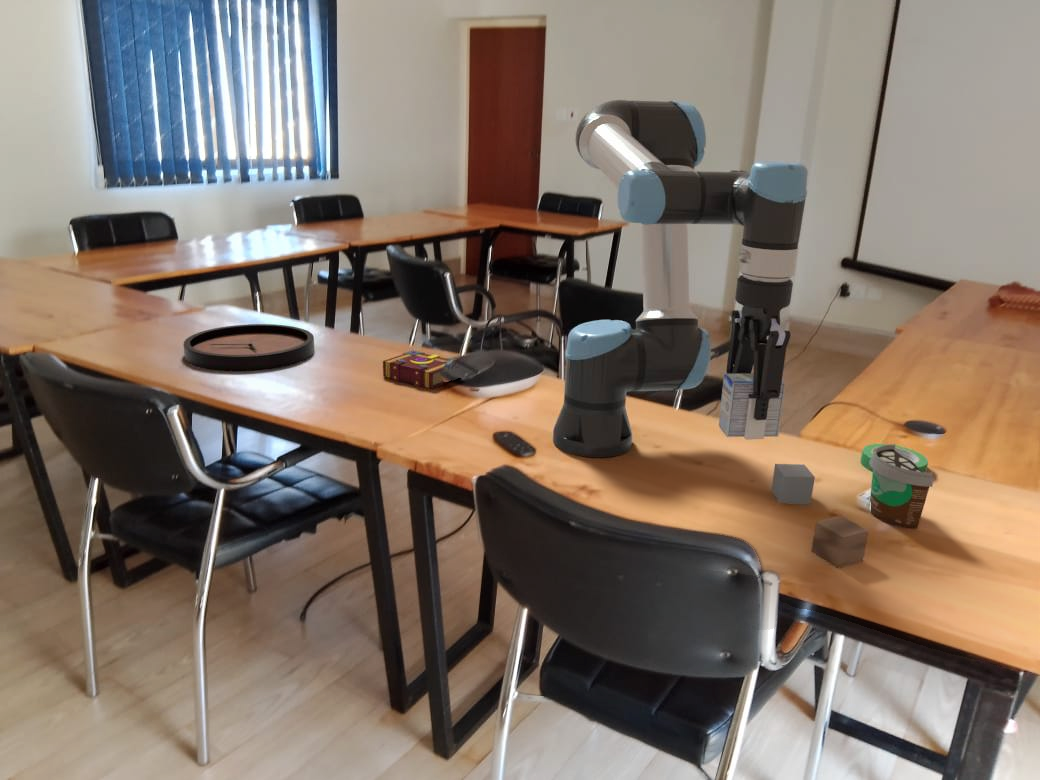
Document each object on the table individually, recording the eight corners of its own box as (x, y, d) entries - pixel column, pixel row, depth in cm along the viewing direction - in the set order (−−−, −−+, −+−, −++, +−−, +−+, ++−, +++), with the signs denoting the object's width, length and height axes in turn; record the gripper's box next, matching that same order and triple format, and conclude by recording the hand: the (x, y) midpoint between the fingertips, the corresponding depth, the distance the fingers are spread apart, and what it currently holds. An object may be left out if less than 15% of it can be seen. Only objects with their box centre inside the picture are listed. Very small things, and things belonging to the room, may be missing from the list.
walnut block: (811, 552, 118) (816, 521, 117) (835, 545, 120) (841, 515, 119) (837, 568, 114) (843, 537, 112) (862, 561, 116) (868, 530, 114)
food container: (847, 497, 136) (857, 442, 132) (883, 497, 136) (893, 442, 133) (884, 533, 124) (895, 474, 121) (922, 533, 124) (935, 474, 121)
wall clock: (338, 333, 212) (257, 363, 185) (339, 348, 213) (258, 380, 186) (244, 318, 223) (154, 345, 196) (245, 332, 225) (156, 361, 197)
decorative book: (431, 391, 182) (431, 370, 180) (378, 377, 190) (377, 357, 189) (462, 379, 191) (462, 359, 189) (409, 366, 199) (409, 347, 198)
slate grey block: (771, 490, 138) (775, 463, 136) (800, 491, 138) (804, 464, 136) (780, 503, 133) (784, 476, 131) (810, 504, 133) (814, 477, 131)
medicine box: (768, 427, 123) (775, 372, 120) (779, 438, 118) (786, 382, 116) (717, 427, 122) (723, 372, 119) (726, 438, 118) (733, 381, 115)
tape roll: (920, 461, 152) (922, 447, 152) (930, 484, 142) (933, 470, 142) (857, 452, 155) (859, 439, 155) (863, 475, 145) (865, 461, 144)
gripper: (714, 265, 120) (698, 411, 128) (771, 290, 104) (748, 456, 111) (760, 265, 122) (742, 409, 129) (824, 289, 105) (798, 453, 113)
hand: (745, 431), depth 120 cm, fingers closed on medicine box, 5 cm apart
